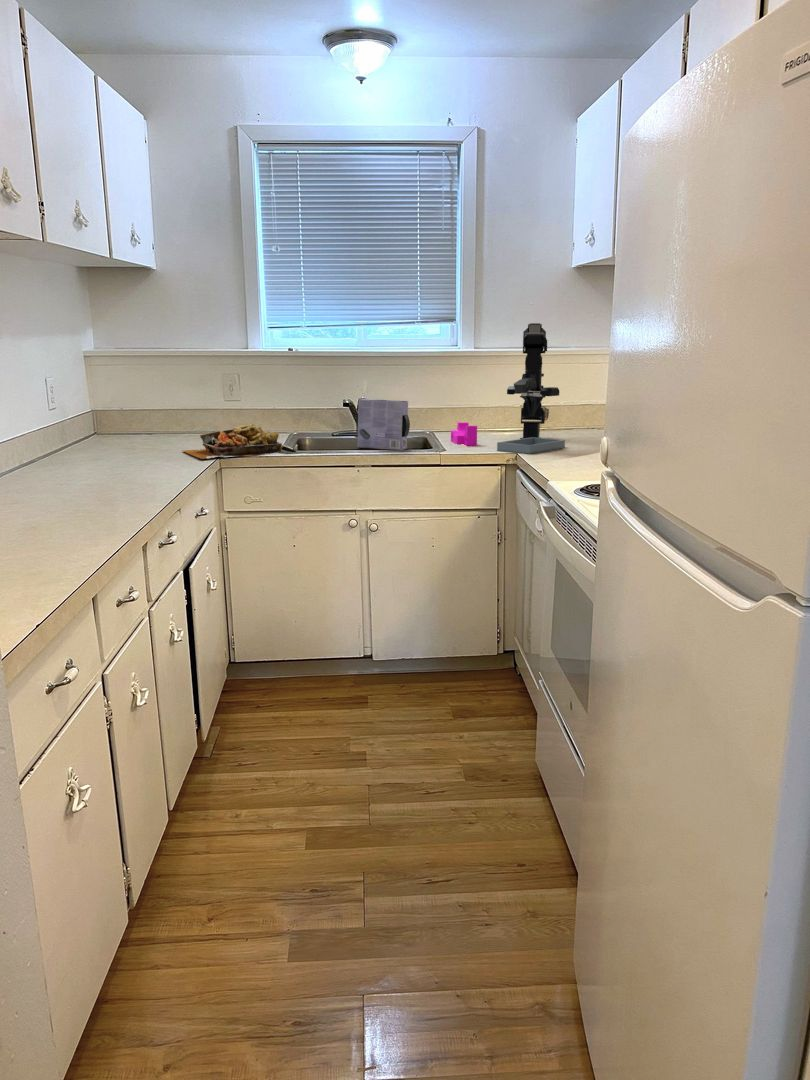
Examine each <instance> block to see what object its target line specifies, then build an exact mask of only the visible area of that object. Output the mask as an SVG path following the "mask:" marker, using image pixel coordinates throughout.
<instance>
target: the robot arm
mask: <svg viewBox="0 0 810 1080" xmlns="http://www.w3.org/2000/svg"><path fill="white" fill-rule="evenodd" d="M522 334H523V335H522V354H526V357H525V361H524V365H525V366H524V367H525V368H524V370H525V371H524V373H522V375H521V376H522V377H521V379H519V380H517V381H516V382H513V385H511V386H510V385H509V386H508V387H507V389H506V395H515V394H519V395H520V396H519V398H522V399H523V401H524V402H522V403H523V405H522V406H523V407H520V424H523V428H522V437H519V439H524V438H531V437H535V438H540V433H541V431H540V429H541V428H540V427H541V425H544V424H545V422H546V421H545V418H546V411H545V409H544V407H543V405H542V401H543V399H544V398H546V397H556V396H557V397H559V396H560V389H559V387H557V386H556V387H555V386H554V387H553V386H552V387H551V386H549V387H547V386H546V387H545V386H544V385H542V377H544V376H545V373H543V370H542V369H543V356H542V354H546V352H548V339H547V331H546V330H545V329H544V328H543V327H542V323H540V322H538V323H537V322H536V323H535V322H531V323H528V324H527V328H526V329H525V330H523V332H522Z"/></svg>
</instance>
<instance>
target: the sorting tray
mask: <svg viewBox="0 0 810 1080" xmlns="http://www.w3.org/2000/svg"><path fill="white" fill-rule="evenodd" d="M565 446H566V440H565V439H556V438H544V437H539V438H535V437H531V438H524V439H520V438H519V439H518V438H517V439H511V440H503V441H497V443H496V452H506V453H513V454H522V453H524V455H535V454H540V452H541V453H546V451H547V452H552V451H551V450H553V451H558V450H557V449H559V450H563V449H562V448H564V449H565ZM534 453H535V454H534Z"/></svg>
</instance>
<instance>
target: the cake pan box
mask: <svg viewBox="0 0 810 1080" xmlns="http://www.w3.org/2000/svg"><path fill="white" fill-rule="evenodd" d="M357 404H358V405H357V406H358V407H357V408H358V410H357V411H358V412H357V414H358V416H357V417H358V418H357V448H360V449H361V448H362V449H374V450H391V451H393V450H394V451H404V450H407V449H408V446H407V445H408V435H409V433H410V426H411V424H410V423H411V421H410V417H409V401H408V400H394V399H393V400H392V399H375V398H372V399H371V398H358V403H357Z"/></svg>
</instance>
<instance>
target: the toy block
mask: <svg viewBox="0 0 810 1080" xmlns="http://www.w3.org/2000/svg"><path fill="white" fill-rule="evenodd" d="M456 424H457V425H456V429H455V430H453V429H451V430H450V442H451V443H453V444H455V445H456V444H457V446H462V445H461V444H464V445H463V446H465V445H466V447H476V446H475V445H477V446H478V425H475V424H474V425H469V422H468V421H466V422H465V421H463V422H460V421H459V422H457V423H456Z"/></svg>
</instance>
